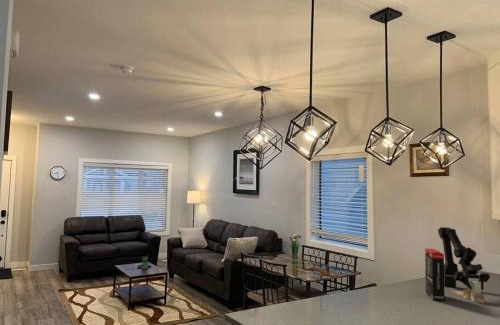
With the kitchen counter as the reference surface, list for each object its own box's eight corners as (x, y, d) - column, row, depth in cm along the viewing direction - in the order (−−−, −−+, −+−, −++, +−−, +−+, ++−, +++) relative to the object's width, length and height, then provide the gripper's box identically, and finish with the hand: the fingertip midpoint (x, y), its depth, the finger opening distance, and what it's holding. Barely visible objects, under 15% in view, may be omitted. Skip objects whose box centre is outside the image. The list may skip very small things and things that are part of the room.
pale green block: (471, 299, 215) (470, 280, 216) (477, 299, 215) (477, 280, 216) (474, 301, 211) (474, 282, 212) (481, 301, 211) (480, 282, 212)
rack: (461, 296, 221) (461, 287, 222) (475, 297, 221) (475, 288, 221) (473, 302, 208) (473, 293, 209) (488, 303, 208) (487, 294, 208)
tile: (451, 291, 233) (451, 290, 233) (466, 292, 232) (466, 291, 232) (458, 295, 224) (458, 294, 224) (474, 296, 223) (474, 295, 223)
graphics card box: (445, 302, 208) (445, 253, 210) (432, 300, 209) (432, 252, 212) (436, 294, 225) (436, 248, 227) (424, 292, 226) (424, 248, 228)
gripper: (455, 257, 219) (465, 281, 207) (488, 259, 218) (499, 283, 206) (449, 268, 227) (458, 291, 215) (481, 270, 225) (491, 293, 213)
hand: (477, 289), depth 212 cm, fingers open, 6 cm apart
